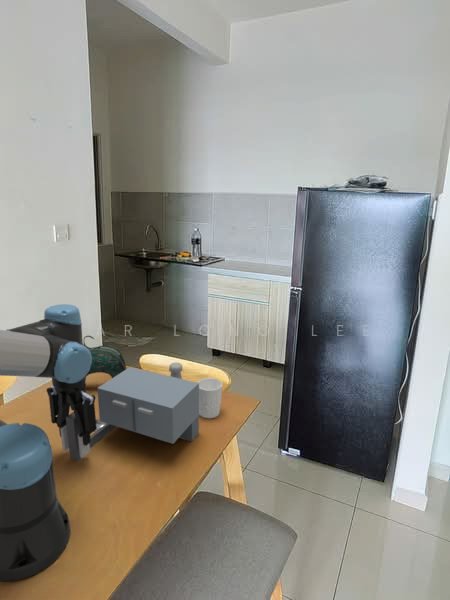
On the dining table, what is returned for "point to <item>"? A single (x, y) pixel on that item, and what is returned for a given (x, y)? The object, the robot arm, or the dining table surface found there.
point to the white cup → (209, 397)
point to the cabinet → (151, 404)
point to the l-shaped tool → (74, 431)
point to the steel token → (99, 424)
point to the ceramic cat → (105, 360)
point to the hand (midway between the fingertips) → (76, 450)
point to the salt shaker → (175, 370)
